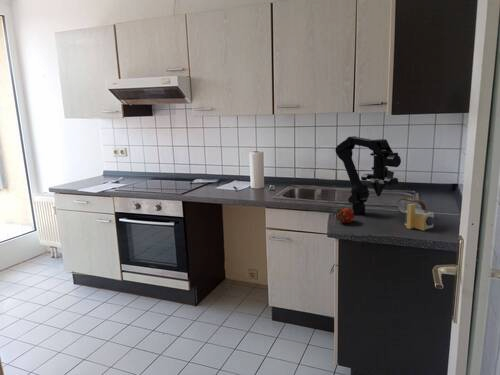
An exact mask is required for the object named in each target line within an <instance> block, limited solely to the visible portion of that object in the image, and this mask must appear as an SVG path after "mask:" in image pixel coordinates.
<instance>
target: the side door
mask: <svg viewBox="0 0 500 375" xmlns="http://www.w3.org/2000/svg"><path fill="white" fill-rule="evenodd" d="M425 223H426V216H421V215H417V214H415V204H409V205H407V225H406V229H409V230H411V229H417V230H420V231H426V229H425Z"/></svg>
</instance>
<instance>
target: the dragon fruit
mask: <svg viewBox="0 0 500 375" xmlns="http://www.w3.org/2000/svg"><path fill="white" fill-rule="evenodd" d="M355 216H356V215H354V211H353V210H352V209H351V207H349V206H346V207H342V208H339V209H337V210H336V213H335V218H336V220H337V221H339V222H340V223H341V224H343V223H344V224H345V223H347V224H351V223H352V221H353V220H354V218H355Z"/></svg>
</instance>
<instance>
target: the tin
mask: <svg viewBox="0 0 500 375" xmlns="http://www.w3.org/2000/svg"><path fill="white" fill-rule="evenodd" d="M409 204H415V209H420V210H424V211H427V208H426V207H427V206H426V204H425V203H424V202H423V201H422V200H420V199H415V198H410V197H402V198H400V199H399V200H398V201H397V206H396V207H397V209H398V211H399V212H400V213H402V214H404V215H405V211H406V210H407V205H409Z"/></svg>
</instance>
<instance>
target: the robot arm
mask: <svg viewBox="0 0 500 375" xmlns="http://www.w3.org/2000/svg"><path fill="white" fill-rule="evenodd" d="M356 146H359V147H363V148H368V149H369V150H370V151H372V152H371V153H370V154H369V155H370V156H371V157H373V163H372V164H373V166H372V167H371V170H372V171H373V172H372V173H365V174H361V178H360V176H359V173H358V170H357V168H356V165H355V163H354V161H353V154H354V152H353V150H354V149H355V148H356ZM334 151H335V153H336V155H337V158H338V159H339V160H341V161H342V163H343V165H344V168H345V170H346V173H347V176H348V178H349V181H350V184H351V190H350V192H351V195H350V196H349V197H348V199H347V200H348V203H349V204H350V209H352V210H353V211H354V215H355V216H359V215H366V205H365V203H366V202H367V201H368V199H369V196H370V190H369V189H368V185H367V184H363V183H362V182H361V181H365V182H366V181H367V180H370V182H369V184H371V186H372V188H373V190H374V191H375V194H376V196H377V197H380V196H381V195H382V192H383V190H384V188H385V186H394V185H399V179H398V178H397V177H394V175H395V172H394V171H392V170H389V168H388V167H391V168H399V167H400V165H401V163H402V159H401V157H400V155H399V153H398V152H394V151H393V150H392V148H391V146H390V145H389V141H388V140H387V139H385V138H381V139H371V138H364V137H360V136H355V135H353V136H348V137H347V138H346V139H345V140H343V141H342V142H340V143H339V144H338V145H336V147H335V150H334Z"/></svg>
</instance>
